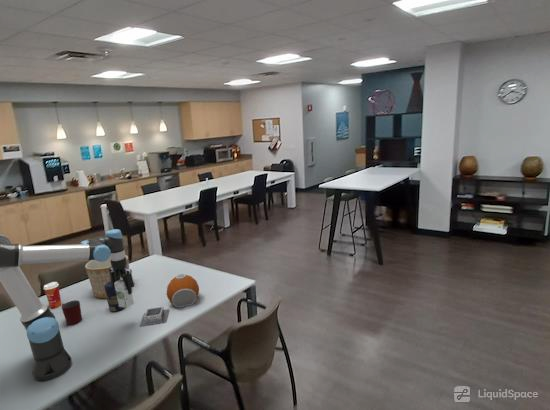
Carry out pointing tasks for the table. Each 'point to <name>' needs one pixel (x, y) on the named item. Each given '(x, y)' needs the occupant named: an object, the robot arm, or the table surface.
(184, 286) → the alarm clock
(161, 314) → the collar
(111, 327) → the table surface
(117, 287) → the syrup box
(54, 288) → the coffee cup
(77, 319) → the mug
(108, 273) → the planter
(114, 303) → the canister
